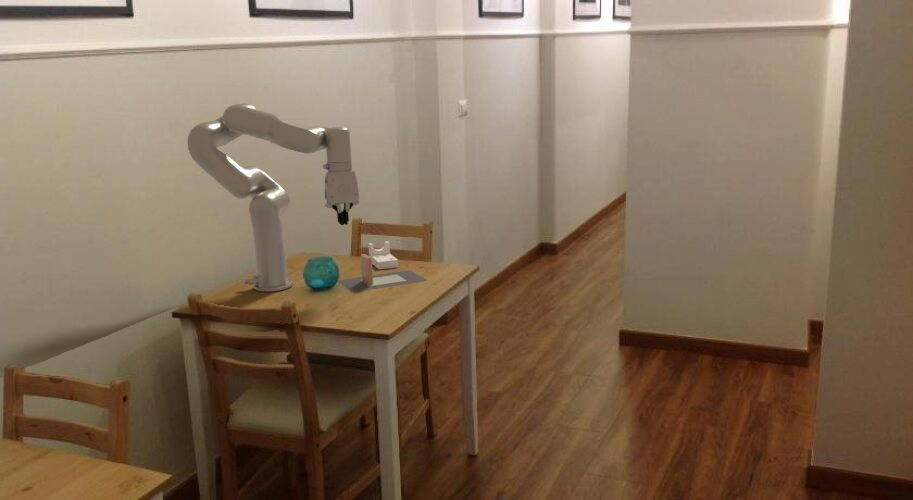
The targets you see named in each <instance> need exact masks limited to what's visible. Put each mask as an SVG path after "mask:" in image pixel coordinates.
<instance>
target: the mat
mask: <svg viewBox="0 0 913 500" xmlns="http://www.w3.org/2000/svg"><path fill="white" fill-rule="evenodd" d="M427 281H428V279H427V278H425V277H422V275H419V274H417V273H415V272H413V271H412V270H411V269H407V270H400V271H394V272H387V273H386V272H385V273H380V274H379V273H378V274H373V285H367V284H366V283H364V282H363V281H362V276H359V277H353V278H346V279H339V280H337V282H338V283H340V284H341V285H342V286H343V287H344V288H346V289H347V290H349V291H350V292H351V293H357V292H363V291H370V290H375V289H383V288H389V287H395V286H401V285H408V284H415V283H420V282H427Z"/></svg>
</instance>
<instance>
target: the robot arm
mask: <svg viewBox="0 0 913 500" xmlns="http://www.w3.org/2000/svg"><path fill="white" fill-rule="evenodd" d="M243 135H246V136H250V137H253V138H255V139H261V140H264V141H267V142H270V143H271V144H274V145H276V146H279V147H281V148H284V149H286V150H289V151H294V152H298V153H301V154H307V155H308V154H313V153H316V152H319V151H322V150H326V163H325V164H322V169H323V170H327V171H325V177H324V200H325V203H324V207H325V208H329V209H333V210H334V211H335V212H336V216H337V222H338V223H339V225H340V226H344V225H345V226H347V225H348V224H349V223H348V222H349V221H350V220H349V219H350V216H349V212H350V210H351V209H352V208H353V206H354V207H355V206H357V205H359V203H360V201H359V200H360V194H359V193H360V191H359V186H358V178H357V175H356V171H355V170H353V166H352V153H351V152H352V150H351V136H350V135H351V134H350V130H349V128H347V127H343V126H336V127H335V126H334V127H325V126H324V127H323V126H312V127H309V128H303V127H299V126H296V125H292V124H288V123H285V122H284V121H283V120H281V119H280V117H279V116H277V115H276V114H273V113H270V112H266V111H263V110H258V109H257V108H256V107H255V106H254V105H252V104H251V103H236V104H232V105H230V106H228V107H227V108H226V109H225V110H224V112H223V115H221V116H220V117H218V118H216V119H215V120H210V121H206V122H201V123H198V124H196V125H194V126H193V127H192V129H191V130H190V132H189V133H188V136H187V150H188V152H189V155H190V156H191V158H192V160H193V161H194V162H195V164H197V165H198V166H199V167H200V168H201V169H202V170H203V171H205V172H206V173H207V174H208V175H210V176H211V178H212V179H214V180H215V181H216V182H217V183H218V184H219V185H221V186H222V188H224V189H225V190H227V192H228V193H229V194H230V195H232V196H233V197H235V198H236V199H241V200H242V199H247V198H252V199H251V201H250V203H249V205H248V206H249V208H248V212H249V218H250V221H251V226H252V231H253V232H252V233H253V241H254V250H255V251H254V252H255V262H256V263H255V264H256V271H257V273H255V274H254V275H253V276H252V277H245V278H242V283H243V285H249V286H251V285H253V289H254V290H255V291H257V292H267V293H268V292H278V291H284V290H287V289H290V288H291V287H293V284H294V283H293V281H292V280H291V279H289V278H288V270H287V269H288V268H287V257H286V256H287V255H286V245H285V234H284V229H283V227H284V226H283V224H282V220H281V217H282V216H283V215H285V214H286V213H287V212H288V211H289V209H290V207H291V198H290V195H289V194H288V192H287V191H286V190H285V189H284V188H283V187H282V186H281V185H279V183H277V182H276V181H275V180H273V178H272V177H270V176H269V175H268V174H267V173H266V172H264V171H263V170H262V169H260V168H259V167H256V166H254V165H253V166H249V165H248V166H244V167H243V166H241V165H239V163H237V162H236V161H235V160H233V158H232V157H230V156H229V155H228V154H226V153H224V152H223V151H221V150H220V149H219V147H223V146H225V145H227V144H229V143H231V142H232V141H234V140H236V139H238V138H239V137H241V136H243ZM341 204H343V207H342V206H341ZM342 208H343V209H342Z"/></svg>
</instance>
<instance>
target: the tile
mask: <svg viewBox="0 0 913 500" xmlns="http://www.w3.org/2000/svg"><path fill="white" fill-rule="evenodd" d="M360 266H361V277H362V281H363V282H364V283H366V284H367V285H373V275H374V274H373V264H372V258H371V257H369V254H368V255H367V254H365V253H362V254H360Z"/></svg>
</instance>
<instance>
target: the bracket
mask: <svg viewBox="0 0 913 500" xmlns="http://www.w3.org/2000/svg"><path fill="white" fill-rule="evenodd" d="M390 247H391V246H390V242H389V241H388V240H386V241H384V245H383V246H382V247H381V248H378V249H377V248H375V247H374V245H373V243H371V242H370V243H368V256H369V257H371V258H372V266H374V267H376V269H378V270H383V269H384V270H385V269H395V268H398V267H399V260H398V258H397V257H395V256H394V255H393V254H391V248H390Z"/></svg>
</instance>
